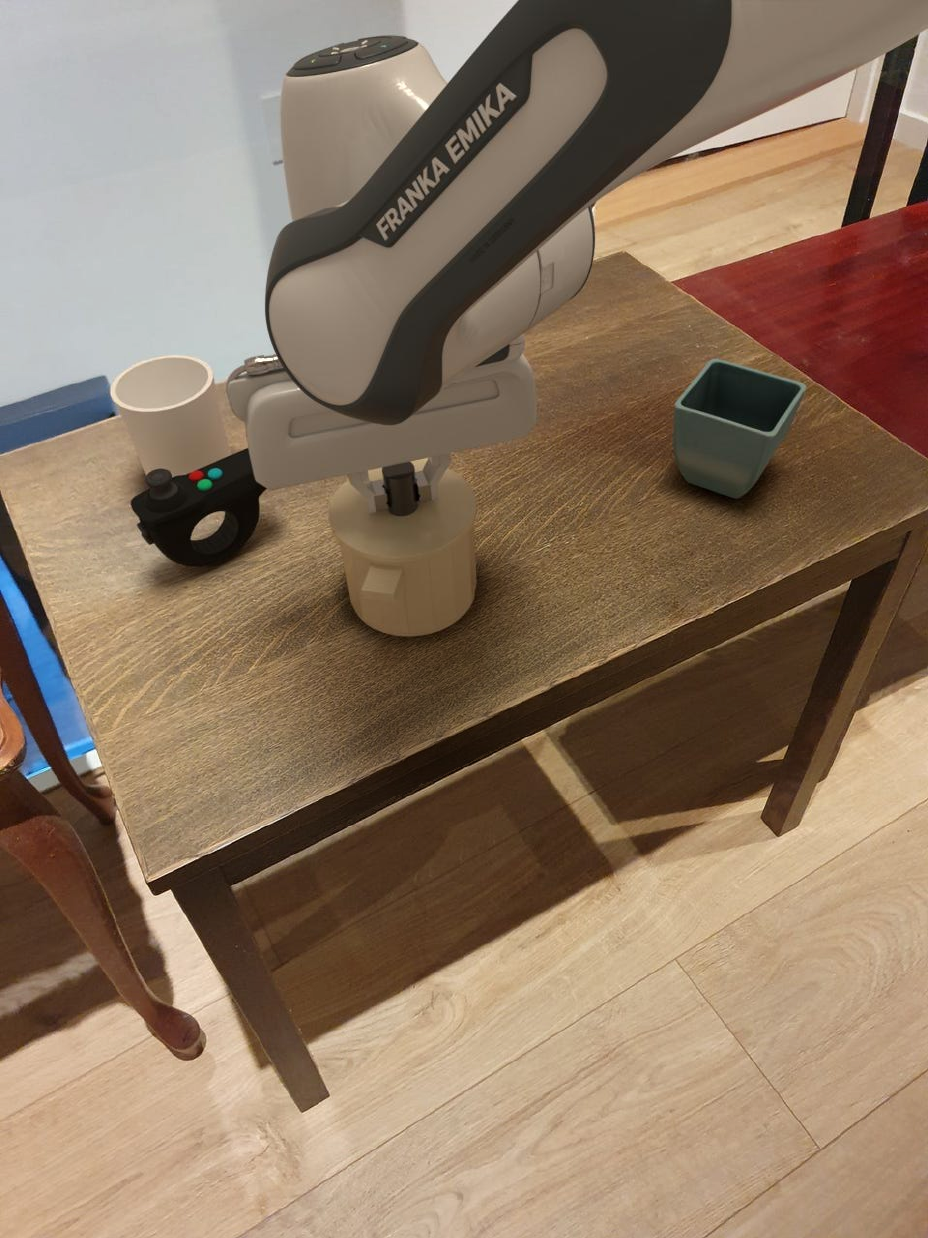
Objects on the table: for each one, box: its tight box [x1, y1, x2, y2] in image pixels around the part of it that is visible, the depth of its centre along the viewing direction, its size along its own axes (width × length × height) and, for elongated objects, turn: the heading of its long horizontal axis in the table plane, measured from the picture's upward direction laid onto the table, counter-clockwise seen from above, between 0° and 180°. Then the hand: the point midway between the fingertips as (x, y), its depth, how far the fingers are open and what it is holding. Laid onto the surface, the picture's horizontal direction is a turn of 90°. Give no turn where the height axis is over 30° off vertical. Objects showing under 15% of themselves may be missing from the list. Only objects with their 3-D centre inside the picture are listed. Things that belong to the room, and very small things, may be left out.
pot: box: [338, 458, 477, 638], centre depth 71 cm, size 10×16×8 cm, turn 168°
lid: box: [327, 461, 478, 563], centre depth 66 cm, size 11×11×5 cm
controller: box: [130, 447, 268, 568], centre depth 74 cm, size 4×12×10 cm, turn 128°
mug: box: [110, 354, 232, 478], centre depth 82 cm, size 11×9×10 cm
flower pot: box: [672, 358, 807, 500], centre depth 79 cm, size 9×9×9 cm
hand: (402, 501), depth 67 cm, fingers closed on lid, 2 cm apart
